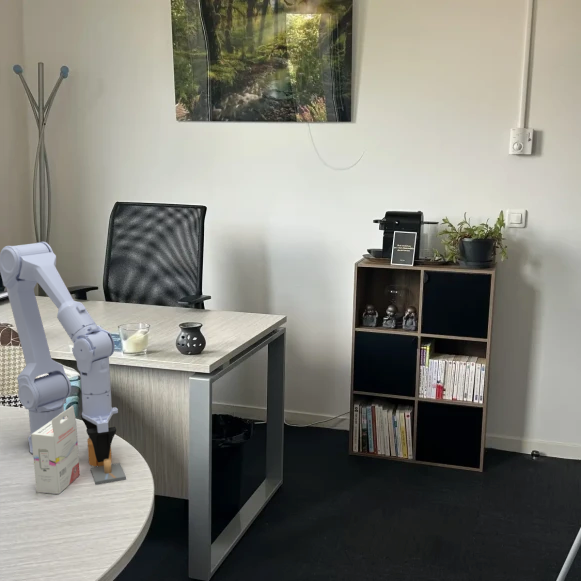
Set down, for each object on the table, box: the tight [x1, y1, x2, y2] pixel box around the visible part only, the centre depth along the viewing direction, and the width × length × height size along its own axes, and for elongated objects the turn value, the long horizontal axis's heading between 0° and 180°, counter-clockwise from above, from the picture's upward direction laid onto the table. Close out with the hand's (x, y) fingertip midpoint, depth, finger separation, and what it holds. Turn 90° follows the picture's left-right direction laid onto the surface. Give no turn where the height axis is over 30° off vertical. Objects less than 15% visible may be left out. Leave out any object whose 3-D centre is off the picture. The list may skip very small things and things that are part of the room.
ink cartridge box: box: [30, 405, 80, 495], centre depth 140 cm, size 9×5×15 cm, turn 168°
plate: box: [90, 458, 127, 485], centre depth 145 cm, size 7×6×3 cm
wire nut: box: [86, 436, 112, 467], centre depth 151 cm, size 5×5×5 cm
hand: (99, 453), depth 151 cm, fingers open, 7 cm apart
